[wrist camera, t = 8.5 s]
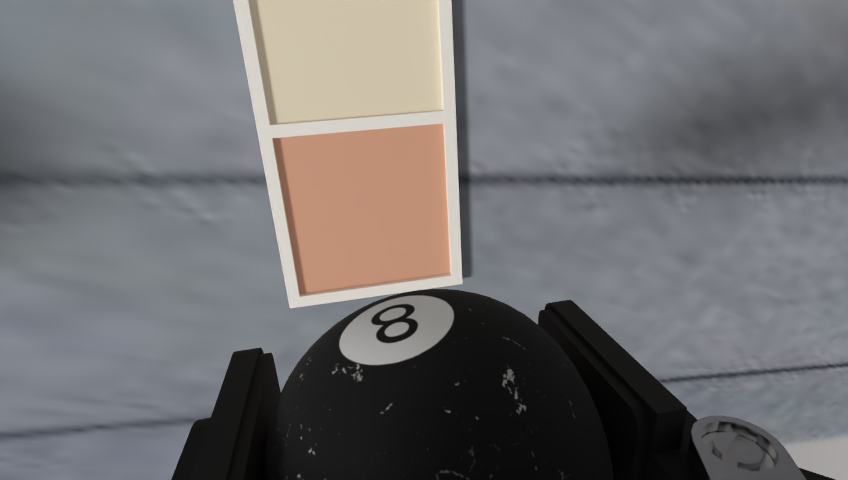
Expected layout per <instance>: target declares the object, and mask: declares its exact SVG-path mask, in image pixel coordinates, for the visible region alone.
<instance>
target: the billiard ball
mask: <svg viewBox="0 0 848 480" xmlns="http://www.w3.org/2000/svg"><path fill="white" fill-rule="evenodd" d="M264 480H613V467H612V462H611V457H610V452H609V447H608V441H607V438H606V434H605V431H604V428H603V425H602V422H601V419H600V416H599V413H598V410H597V408H596V406H595V404H594V401H593V399H592V397H591V395H590V392H589V390H588V388H587V386H586V384H585V383H584V381H583V379H582V378H581V376H580V374H579V372H578V371H577V369H576V367H575V366H574V364H573V363H572V362H571V360H570V359H569V358H568V356H567V355H566V354H565V352H564V351H563V350H562V348H561V347H560V346H559V345H558V344H557V343H556V342H555V341H554V340H553V338H552V337H551V336H550V335H549V334H548V333H547V332H546V331H545V330H544V329H543V328H541V327H540V326H539V325H538V324H536V323H535V322H534V321H532V320H531V319H530V318H528V317H527V316H526V315H524V314H523V313H521V312H519V311H517V310H516V309H514V308H512V307H511V306H509V305H507V304H505V303H502V302H500V301H497V300H495V299H492V298H490V297H487V296H483V295H480V294H476V293H470V292H465V291H459V290H448V289H429V290H417V291H411V292H406V293H401V294H397V295H393V296H390V297H387V298H384V299H381V300H378V301H376V302H373V303H371V304H369V305H367V306H365V307H363V308H361V309H359V310H357V311H355V312H354V313H352V314H350V315H348V316H347V317H346V318H344V319H343V320H341V321H340V322H338V323H337V324H336V325H334V326H333V327H332V328H331V329H329V330H328V331H327V332H326V333H325V334H324V335H322V336H321V337H320V338H319V339H318V340H317V341H316V342H315V343H314V344H313V345H312V346H311V347H310V349H309V350H308V351H307V352H306V353H305V355H304V356H303V357H302V358H301V360H300V361H299V362H298V364H297V365H296V367H295V368H294V370H293V371H292V373H291V374H290V376H289V378H288V380H287V382H286V384H285V386H284V388H283V390H282V392H281V394H280V396H279V399H278V401H277V404H276V407H275V410H274V413H273V416H272V419H271V423H270V427H269V432H268V437H267V442H266V451H265V463H264Z"/></svg>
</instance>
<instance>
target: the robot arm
mask: <svg viewBox="0 0 848 480" xmlns="http://www.w3.org/2000/svg"><path fill="white" fill-rule="evenodd" d="M538 325H539V326H540V327H541V328H543V329H544V330H545V331H546V332H547V333H548V334H549V335H550V336H551V337H552V338H553V340H554V341H555V342H556V343H557V344H558V345H559V346H560V347H561V348H562V350H563V351H564V352H565V354H566V355H567V356H568V358H569V359H570V360H571V362H572V363H573V364H574V366H575V367H576V369H577V371H578V372H579V374H580V376H581V378H582V379H583V381H584V383H585V384H586V386H587V388H588V390H589V392H590V395H591V397H592V399H593V401H594V404H595V406H596V408H597V410H598V413H599V416H600V419H601V422H602V425H603V428H604V431H605V434H606V438H607V441H608V447H609V452H610V457H611V462H612V467H613V480H835V479H832V478H829V477H825V476H823V475H819V474H816V473H813V472H810V471H807V470H804V469H801V468H798V466H797V465H796V464H795V462H794V461H793V459H792V458H791V456H790V455H789V453H788V452H787V450H786V449H785V448H784V446H783V445H782V444H781V443H780V442H779V441H778V440H777V439H776V438H775V437H773V436H772V435H771V434H769V433H768V432H767V431H765V430H764V429H762V428H760V427H758V426H756V425H754V424H752V423H750V422H747V421H744V420H741V419H738V418H733V417H727V416H708V417H704V418H701V419H699V420H697V419H696V418H695V417H694V416H693V415H692V414H691V413H689V412H688V411H687V408H686V407H685V406H684V405H683V404H682V403H681V402H680V401H679V400H678V399H677V398H676V397H675V396H674V395H673V394H671V393H670V392H669V391H668V390H667V389H666V388H665V387H664V386H663V385H662V384H661V383H660V382H659V381H658V380H656V379H655V378H654V377H653V376H652V375H651V374H650V373H649V372H648V371H647V370H646V369H645V368H644V367H643V366H641V365H640V364H639V363H638V362H637V361H636V360H635V359H634V358H633V357H632V356H631V355H630V354H629V353H628V352H627V351H625V350H624V349H623V348H622V347H621V346H620V345H619V344H618V343H617V342H616V341H615V340H614V339H613V338H612V337H610V336H609V335H608V334H607V333H606V332H605V331H604V330H603V329H602V328H601V327H600V326H599V325H598V324H597V323H595V322H594V321H593V320H592V319H591V318H590V317H589V316H588V315H587V314H586V313H585V312H584V311H583V310H582V309H580V308H579V307H578V306H577V305H576V304H575V303H574V302H573V301H571V300H565V301H559V302H552V303H548V304H546V306H545V310H541V311H540V312H539V317H538ZM280 394H281V392H280V388H279V383H278V378H277V373H276V368H275V363H274V359H273V355H272V353H266V354H264V353H263V350H262V349H261V348H255V349H249V350H242V351H236V352H234V353H233V355H232V358H231V361H230V364H229V366H228V369H227V372H226V375H225V378H224V381H223V384H222V387H221V390H220V393H219V396H218V399H217V401H216V404H215V407H214V410H213V413H212V416H211V418H206V419H201V420H197V421H196V422H194V424H193V426H192V428H191V430H190V433H189V436H188V438H187V441H186V443H185V446H184V449H183V451H182V454H181V456H180V459H179V461H178V464H177V467H176V469H175V472H174V474H173V477H172V479H171V480H264V463H265V451H266V442H267V437H268V432H269V427H270V423H271V419H272V416H273V413H274V410H275V407H276V404H277V401H278V399H279V396H280Z"/></svg>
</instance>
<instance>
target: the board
mask: <svg viewBox="0 0 848 480" xmlns="http://www.w3.org/2000/svg"><path fill="white" fill-rule="evenodd" d="M233 2H234V7H235V12H236V18H237V23H238V29H239V34H240V40H241V45H242V50H243V56H244V61H245V67H246V72H247V78H248V83H249V89H250V94H251V99H252V105H253V110H254V116H255V121H256V127H257V132H258V137H259V143H260V148H261V154H262V159H263V165H264V170H265V176H266V181H267V186H268V192H269V197H270V203H271V208H272V214H273V219H274V224H275V230H276V235H277V241H278V246H279V252H280V257H281V263H282V268H283V273H284V279H285V284H286V290H287V295H288V301H289V306H290V308H296V307H303V306H310V305H317V304H324V303H331V302H338V301H345V300H352V299H360V298H367V297H374V296H381V295H388V294H395V293H402V292H409V291H416V290H423V289H430V288H437V287H444V286H451V285H458V284H462V260H461V235H460V209H459V183H458V157H457V131H456V105H455V79H454V53H453V27H452V1H451V0H233Z"/></svg>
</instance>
